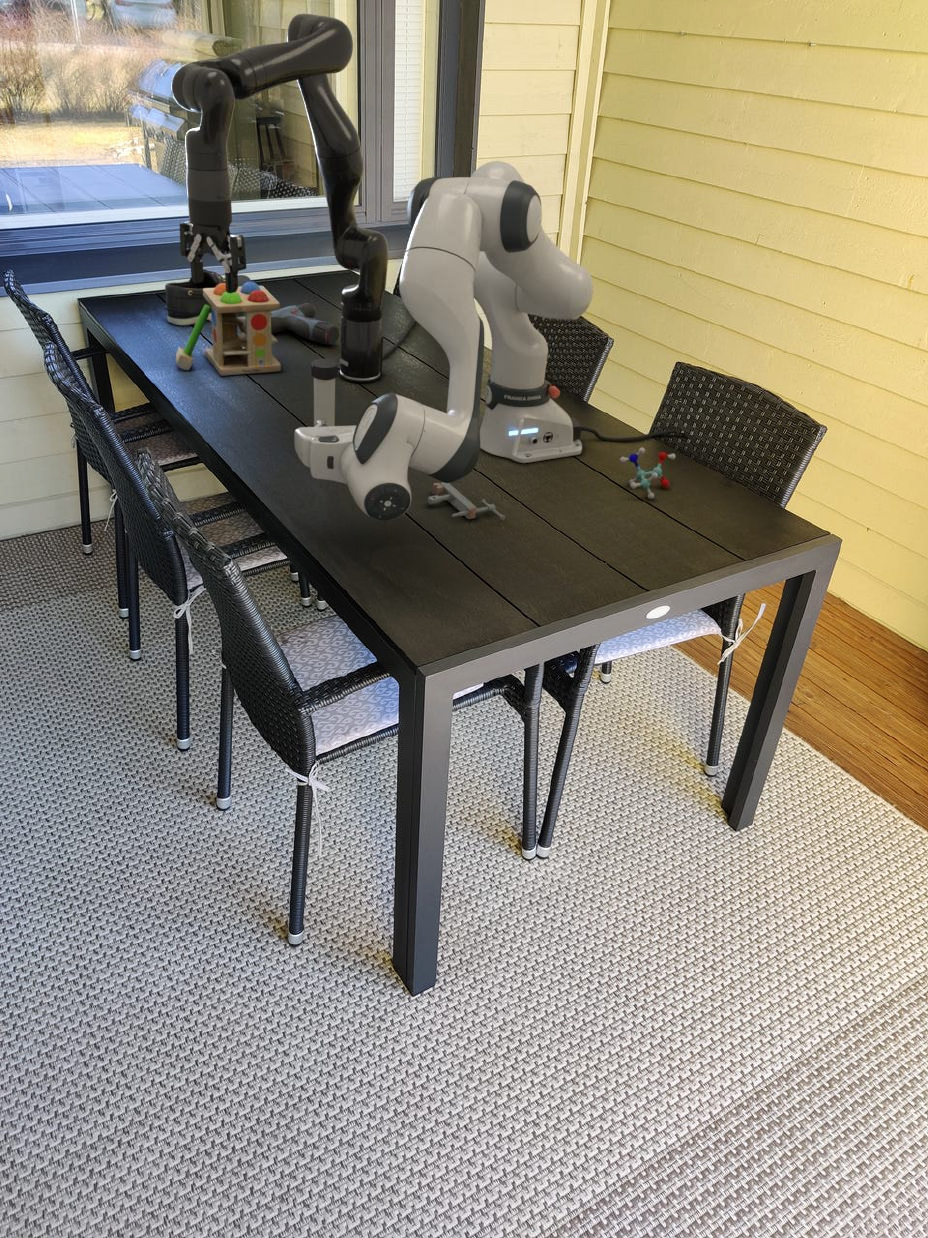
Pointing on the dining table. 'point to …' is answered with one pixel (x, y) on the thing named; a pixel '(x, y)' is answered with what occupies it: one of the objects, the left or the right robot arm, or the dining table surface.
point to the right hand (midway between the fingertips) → (348, 423)
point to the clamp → (459, 501)
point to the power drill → (304, 324)
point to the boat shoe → (192, 297)
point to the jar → (324, 401)
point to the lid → (324, 369)
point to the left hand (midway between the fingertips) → (214, 287)
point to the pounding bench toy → (229, 347)
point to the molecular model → (641, 473)
